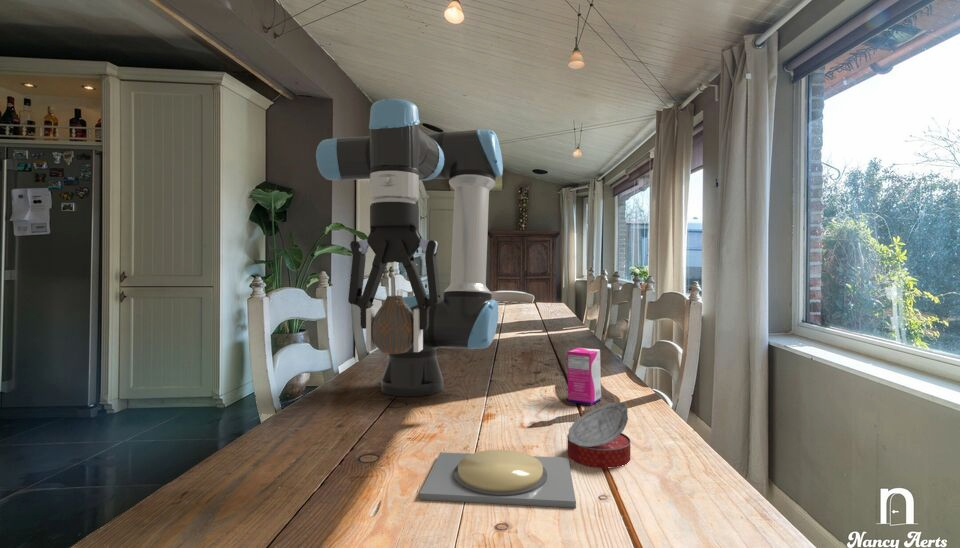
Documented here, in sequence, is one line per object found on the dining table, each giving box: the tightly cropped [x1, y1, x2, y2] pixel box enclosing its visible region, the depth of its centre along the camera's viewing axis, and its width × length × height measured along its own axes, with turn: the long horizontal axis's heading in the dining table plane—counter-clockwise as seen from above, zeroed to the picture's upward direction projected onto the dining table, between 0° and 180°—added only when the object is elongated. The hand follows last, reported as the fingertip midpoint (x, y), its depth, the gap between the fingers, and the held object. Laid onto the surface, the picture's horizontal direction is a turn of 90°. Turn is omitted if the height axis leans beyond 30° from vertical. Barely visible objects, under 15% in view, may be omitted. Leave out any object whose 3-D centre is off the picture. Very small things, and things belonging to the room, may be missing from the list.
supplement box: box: [566, 347, 602, 406], centre depth 110 cm, size 6×6×12 cm
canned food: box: [567, 401, 632, 469], centre depth 78 cm, size 11×10×10 cm
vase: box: [372, 295, 414, 355], centre depth 76 cm, size 7×7×9 cm
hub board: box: [419, 449, 577, 509], centre depth 69 cm, size 14×20×2 cm
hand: (394, 349), depth 76 cm, fingers closed on vase, 7 cm apart
